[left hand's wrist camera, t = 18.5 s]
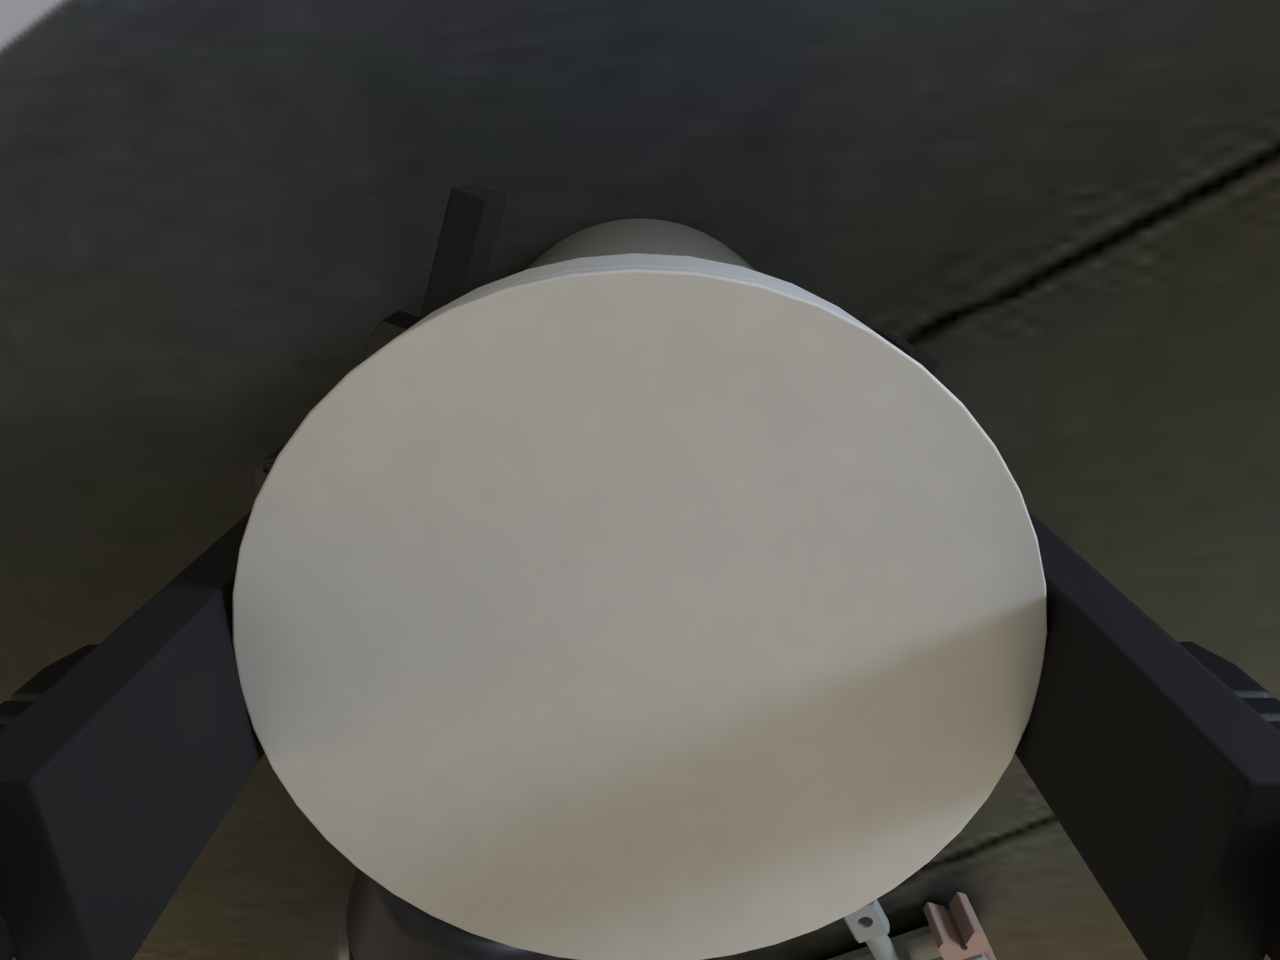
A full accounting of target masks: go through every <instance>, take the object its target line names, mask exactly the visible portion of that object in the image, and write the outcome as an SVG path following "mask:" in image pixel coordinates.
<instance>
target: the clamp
mask: <svg viewBox="0 0 1280 960" xmlns="http://www.w3.org/2000/svg"><path fill="white" fill-rule="evenodd" d="M949 906H950V909H948V910H945V908H944V906H941V905H937V904H933V903H929V902H927V903H926V905H925V906H924V908H923V910H924V913H925V915H926V918H927V920H928V923H929V925H928V926H925V927H922V928H919V929H916V930H913V931H910V932H907V933H904V934H901V935H898V936H895V937H893V938H890V939H889V937H888V935H887V934H888V933H889V929H890V925H889V921H888V919H887V917H886V915H885V913H884V912H883V910H882V908H881V906H880V904H879V902H878V900H877V899H876V900H874V901H872V902H871V903H869V904H867V905H866V906H864V907H862V908H861V909H859V910H857V911H855V912H853V913H851V914H849V915H847V916H845V917H843V918H844V920H845V922H846V923H847V925H848V927H849V929H850V930H851V932H852V934H853V936H854V938H855V939H856V940H857V941H858V942H859V943H862V942H866V943H867V945H868V946H866V947H863V948H860V949H857V950H854V951H851V952H848V953H845V954H842V955H840V956H837V957H834V958H831V959H828V960H931V959H934V958H937V957H940V956H942V957H943V959H944V960H996V958H995V956H994V954H993V951H992V949H991V947H990V945H989V942H988V940H987V938H986V936H985V934H984V932H983V930H982V928H981V926H980V923H979V921H978V919H977V917H976V915H975V913H974V911H973V908H972V906H971V904H970V902H969V900H968V898H967V896H966V894H964V893H960V892H956V894H955V896H954V897H953V899H952V900H951V902H950V903H949Z"/></svg>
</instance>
